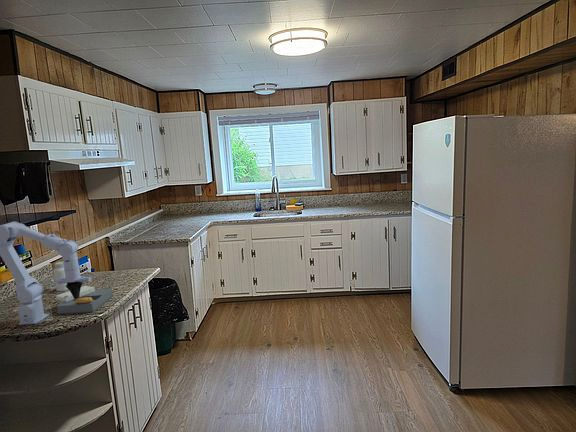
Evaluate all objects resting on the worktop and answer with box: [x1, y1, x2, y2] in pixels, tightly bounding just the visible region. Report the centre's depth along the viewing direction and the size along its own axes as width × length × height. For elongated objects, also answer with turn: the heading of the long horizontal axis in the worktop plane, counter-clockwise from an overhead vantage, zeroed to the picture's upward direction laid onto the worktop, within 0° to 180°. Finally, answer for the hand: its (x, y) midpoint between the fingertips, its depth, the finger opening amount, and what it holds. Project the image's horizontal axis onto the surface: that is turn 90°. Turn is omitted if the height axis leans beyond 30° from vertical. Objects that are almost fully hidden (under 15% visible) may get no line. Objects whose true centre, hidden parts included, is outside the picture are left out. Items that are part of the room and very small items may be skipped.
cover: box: [55, 285, 96, 302], centre depth 188 cm, size 8×14×2 cm, turn 150°
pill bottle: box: [52, 260, 69, 292], centre depth 211 cm, size 8×8×15 cm
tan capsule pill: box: [75, 297, 92, 303], centre depth 177 cm, size 2×7×2 cm, turn 89°
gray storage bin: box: [56, 288, 114, 315], centre depth 186 cm, size 20×16×4 cm
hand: (76, 298), depth 173 cm, fingers closed
